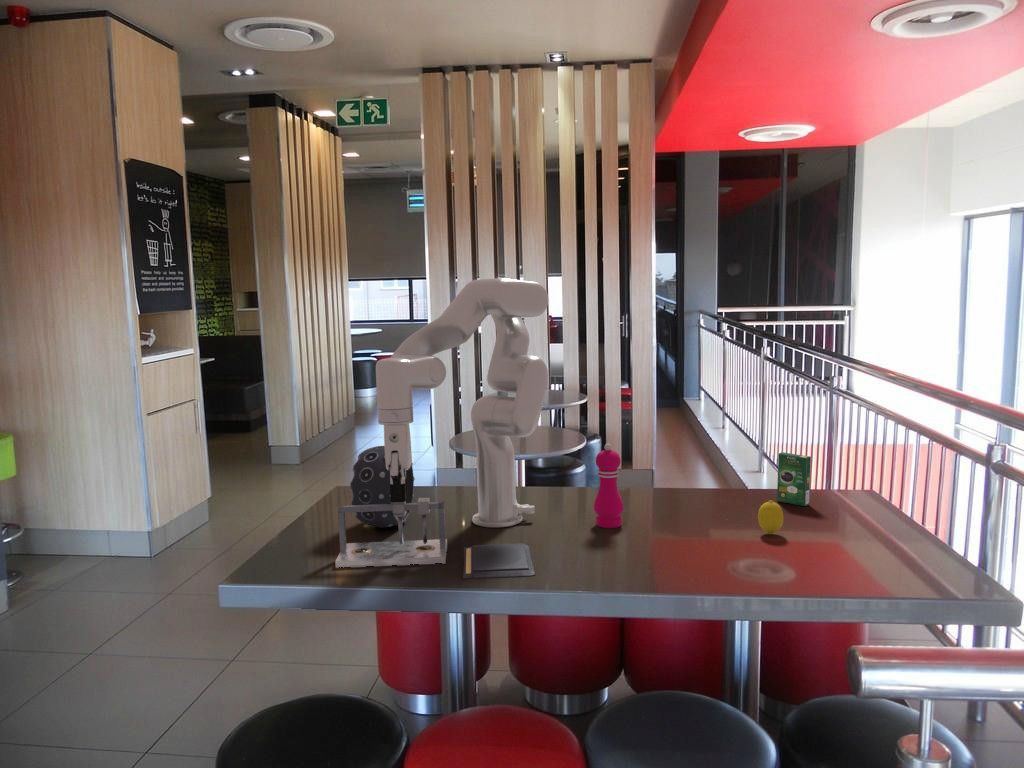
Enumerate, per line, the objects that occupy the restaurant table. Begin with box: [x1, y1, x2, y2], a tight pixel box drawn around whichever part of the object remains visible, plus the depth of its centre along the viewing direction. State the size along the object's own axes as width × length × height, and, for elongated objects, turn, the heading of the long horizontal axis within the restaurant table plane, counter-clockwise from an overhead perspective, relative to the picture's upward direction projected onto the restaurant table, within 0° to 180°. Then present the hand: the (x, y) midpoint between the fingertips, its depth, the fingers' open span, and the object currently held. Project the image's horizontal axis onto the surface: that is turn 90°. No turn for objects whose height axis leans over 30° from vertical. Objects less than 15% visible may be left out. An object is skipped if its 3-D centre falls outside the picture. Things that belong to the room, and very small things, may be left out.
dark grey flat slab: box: [462, 542, 536, 580], centre depth 162 cm, size 20×2×15 cm
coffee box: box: [776, 451, 812, 507], centre depth 200 cm, size 8×3×13 cm, turn 44°
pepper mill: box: [593, 443, 625, 529], centre depth 185 cm, size 7×7×20 cm
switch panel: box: [334, 497, 448, 569], centre depth 166 cm, size 23×12×12 cm, turn 93°
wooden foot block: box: [393, 476, 406, 545], centre depth 166 cm, size 3×4×15 cm
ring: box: [349, 445, 416, 529], centre depth 190 cm, size 11×20×20 cm, turn 170°
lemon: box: [757, 499, 785, 535], centre depth 175 cm, size 6×6×8 cm
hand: (399, 498), depth 166 cm, fingers closed on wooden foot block, 3 cm apart
